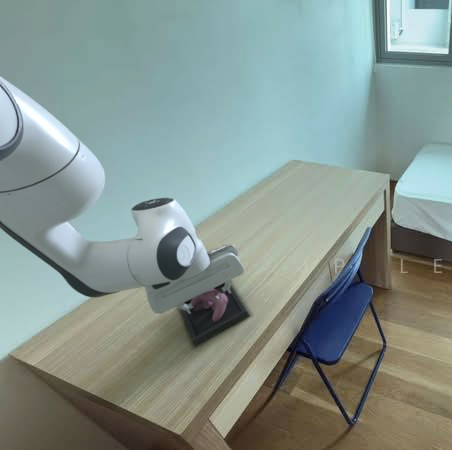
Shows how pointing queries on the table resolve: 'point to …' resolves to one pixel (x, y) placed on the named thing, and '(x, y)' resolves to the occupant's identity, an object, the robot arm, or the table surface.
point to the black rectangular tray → (202, 318)
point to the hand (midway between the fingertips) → (210, 302)
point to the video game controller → (212, 302)
